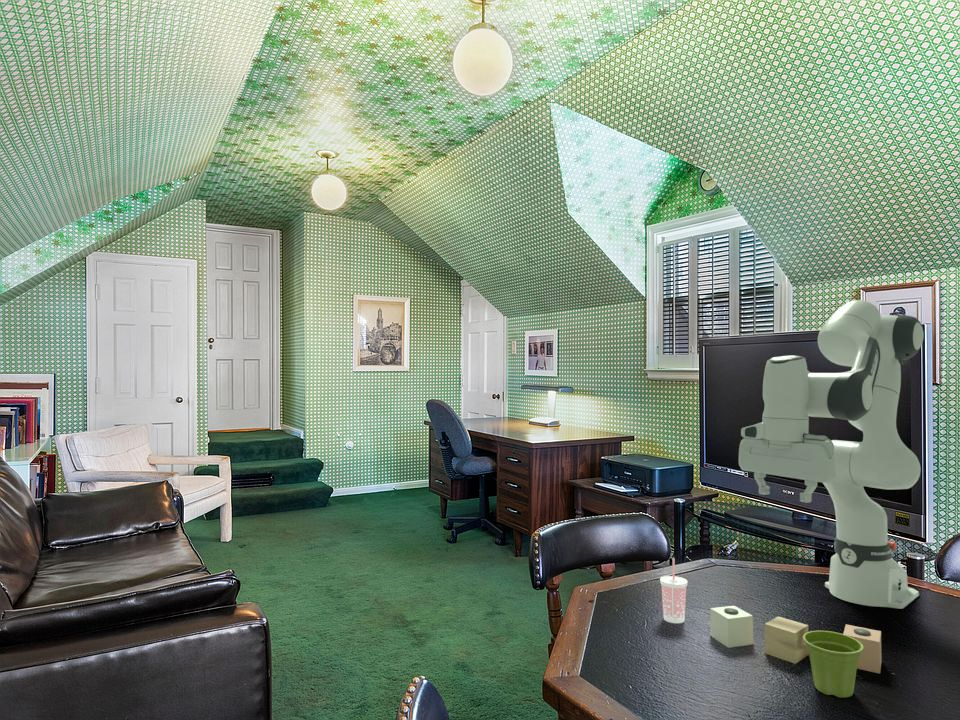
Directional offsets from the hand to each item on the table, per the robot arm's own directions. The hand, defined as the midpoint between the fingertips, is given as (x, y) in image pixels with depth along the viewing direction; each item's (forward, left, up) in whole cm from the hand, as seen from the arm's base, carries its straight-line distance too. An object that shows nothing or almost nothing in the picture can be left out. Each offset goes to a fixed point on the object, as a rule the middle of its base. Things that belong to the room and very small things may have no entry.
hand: (784, 498), depth 132 cm
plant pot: (+10, +16, -31) cm, 36 cm away
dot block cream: (+8, -7, -31) cm, 32 cm away
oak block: (+4, +3, -31) cm, 31 cm away
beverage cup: (+10, -21, -31) cm, 38 cm away
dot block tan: (-5, +13, -31) cm, 33 cm away
